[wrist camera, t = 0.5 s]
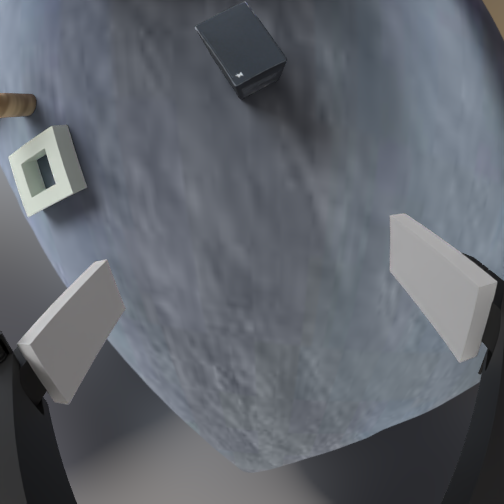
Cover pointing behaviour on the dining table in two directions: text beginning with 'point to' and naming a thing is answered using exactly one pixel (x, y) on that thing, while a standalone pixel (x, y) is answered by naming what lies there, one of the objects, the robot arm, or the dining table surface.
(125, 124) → the dining table surface
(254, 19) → the box
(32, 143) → the hole block
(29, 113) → the long pin
